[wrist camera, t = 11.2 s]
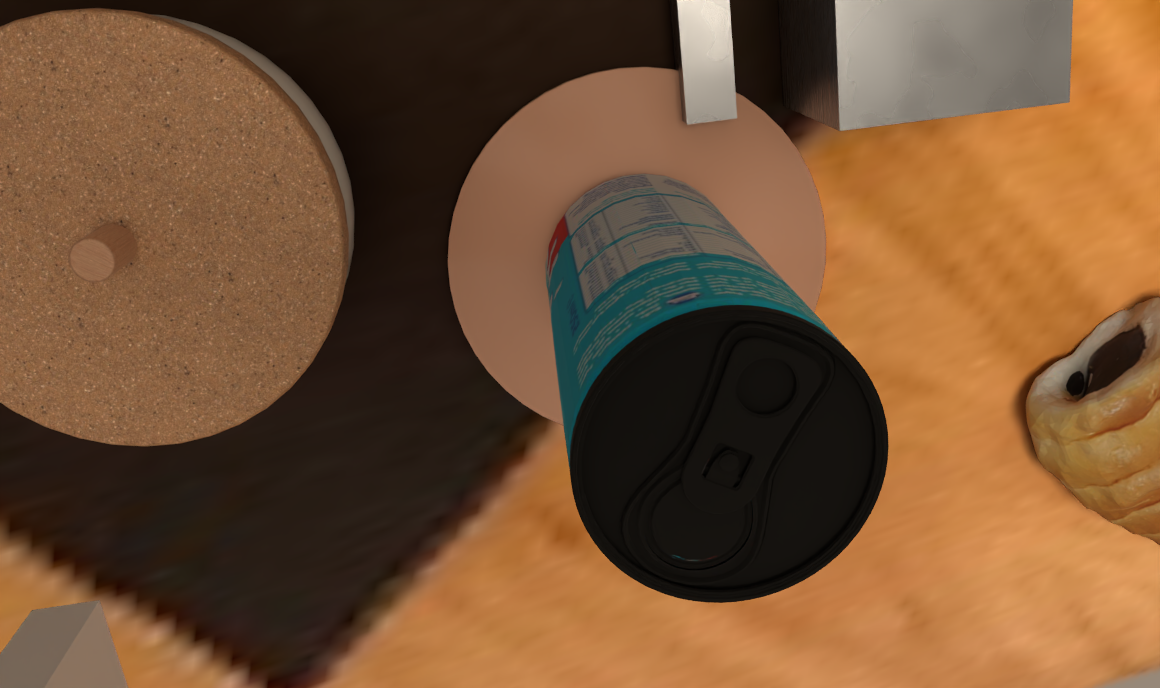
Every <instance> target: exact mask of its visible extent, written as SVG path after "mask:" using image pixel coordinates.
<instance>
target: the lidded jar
mask: <svg viewBox="0 0 1160 688" xmlns="http://www.w3.org/2000/svg"><path fill="white" fill-rule="evenodd" d="M353 248H354V204H353V196H352V189H351V182H350V178H349V175H348V172H347V169H346V165H345V162H344V159H343V155H342V153H341V150H340V148H339V146H338V144H337V142H336V140H335V138H334V136H333V134H332V132H331V130H330V127H329V125H328V124H327V122H326V121H325V120H324V118H323V117H322V115H321V114H320V112H319V111H318V109H317V108H316V106H315V105H314V103H313V102H312V100H311V99H310V98H309V97H308V96H307V95H306V94H305V93H304V91H303V90H302V89H301V88H300V87H299V86H298V85H297V84H296V83H295V82H294V81H293V79H292V78H291V77H290V76H289V75H287V74H286V73H285V72H284V71H282V70H281V69H280V68H279V67H278V66H276V65H275V64H274V63H273V62H271V61H270V60H269V59H268V58H267V57H265V56H264V55H262V54H260V53H259V52H257V51H255V50H254V49H252V48H250V47H249V46H247V45H245V44H244V43H242V42H240V41H239V40H237V39H235V38H232V37H230V36H227V35H225V34H223V33H220V32H218V31H215V30H213V29H210V28H208V27H205V26H203V25H200V24H197V23H193V22H189V21H185V20H181V19H177V18H173V17H169V16H165V15H153V14H146V13H142V12H137V11H127V10H115V9H104V8H89V9H75V10H61V11H51V12H47V13H43V14H39V15H35V16H31V17H27V18H23V19H18V20H15V21H12V22H10V23H8V24H6V25H3V26H1V27H0V402H1V403H2V404H4V405H5V406H7V407H8V408H10V409H11V410H13V411H14V412H16V413H18V414H20V415H22V416H24V417H26V418H28V419H30V420H33V421H35V422H37V423H39V424H41V425H43V426H45V427H47V428H50V429H53V430H56V431H59V432H62V433H65V434H68V435H71V436H74V437H77V438H81V439H86V440H92V441H97V442H102V443H107V444H112V445H130V446H156V445H168V444H179V443H184V442H188V441H192V440H196V439H200V438H204V437H209V436H212V435H215V434H217V433H220V432H222V431H224V430H227V429H229V428H232V427H234V426H237V425H239V424H241V423H243V422H245V421H246V420H248V419H250V418H251V417H253V416H255V415H256V414H258V413H260V412H261V411H263V410H265V409H266V408H268V407H269V406H270V405H271V404H273V403H274V402H275V401H276V400H277V399H278V398H280V397H281V396H282V395H283V394H284V393H285V392H287V391H288V390H289V389H290V388H291V387H292V386H293V385H294V384H295V383H296V381H297V380H298V379H299V378H300V377H301V375H302V374H303V373H304V372H305V371H306V369H307V368H308V367H309V366H310V365H311V363H312V362H313V360H314V358H315V357H316V355H317V353H318V351H319V350H320V348H321V346H322V344H323V343H324V341H325V339H326V338H327V336H328V334H329V332H330V330H331V328H332V325H333V322H334V320H335V317H336V314H337V312H338V309H339V306H340V303H341V301H342V297H343V292H344V286H345V283H346V280H347V278H348V274H349V269H350V263H351V258H352V253H353Z"/></svg>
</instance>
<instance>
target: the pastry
mask: <svg viewBox="0 0 1160 688" xmlns="http://www.w3.org/2000/svg"><path fill="white" fill-rule="evenodd" d="M1026 418H1027V424H1028V428H1029V431H1030V433H1031V437H1032V441H1033V445H1034V448H1035V451H1036V455H1037V457H1038V459H1039V461H1040V462H1041V464H1042V465H1043V467H1044V468H1045V469H1046V470H1048V471H1049V472H1051V473H1052V474H1053V475H1054V476H1056V477H1057V478H1058V479H1059V480H1060V481H1061V482H1062V483H1063V484H1064V485H1065V486H1066V487H1067V488H1068V489H1069V490H1071V491H1072V493H1073V494H1074V495H1075V496H1076V498H1077V499H1078V500H1079V501H1080V502H1081V503H1082V504H1083V505H1084V506H1085V507H1086V508H1088V509H1091V510H1093V511H1095V512H1097V513H1098V514H1099V515H1101V516H1102V517H1104V518H1105V519H1107V520H1108V521H1110V522H1111V523H1114V524H1117V525H1120V526H1122V527H1124V528H1125V529H1126V530H1128V531H1129V532H1131V533H1133V534H1139V535H1141V536H1144V537H1147V538H1149V539H1151V540H1153V541H1155V542H1156V543H1157V544H1159V545H1160V297H1156V298H1152V299H1149V300H1147V301H1145V302H1143V303H1138V304H1136V305H1135V306H1134V307H1133V308H1132V309H1130V310H1121V311H1118V312H1116V313H1115V314H1113V315H1112V316H1111V317H1109V318H1107V319H1106V320H1104V321H1103V322H1101V323H1100V324H1099V325H1098V326H1097V327H1096V328H1095V330H1094V331H1093V332H1092V333H1091V334H1090V335H1088V336H1087V337H1086V338H1085V339H1084V340H1083V342H1082V343H1081V344H1080V346H1079V347H1078V348H1077V349H1076V351H1075V352H1074V353H1073V354H1072V355H1070V356H1068V357H1066V358H1063V359H1061V360H1059V361H1057V362H1056V363H1054V364H1053V365H1052V366H1050V367H1049V368H1047V369H1046V370H1045V371H1044V372H1042V373H1041V374H1040V375H1039V376H1037V377H1036V379H1035V380H1034V382H1033V384H1032V386H1031V388H1030V391H1029V393H1028V396H1027V399H1026Z"/></svg>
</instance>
